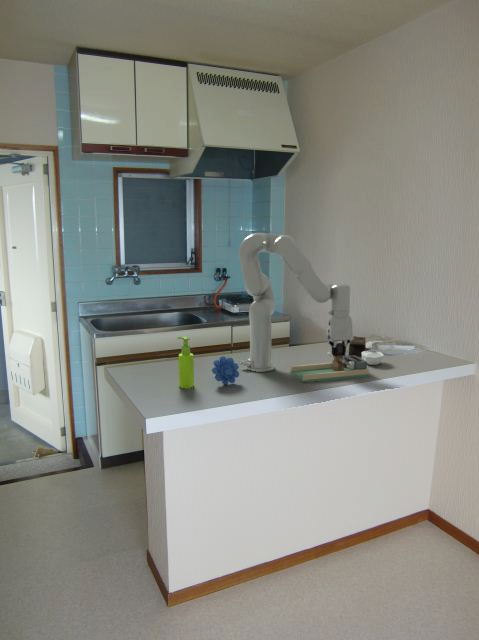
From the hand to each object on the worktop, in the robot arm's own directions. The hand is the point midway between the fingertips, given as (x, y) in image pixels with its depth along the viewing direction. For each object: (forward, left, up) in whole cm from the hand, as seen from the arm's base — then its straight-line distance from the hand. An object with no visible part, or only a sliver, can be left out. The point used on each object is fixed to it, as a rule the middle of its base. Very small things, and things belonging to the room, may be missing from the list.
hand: (338, 355), depth 219 cm
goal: (+8, 0, -7) cm, 11 cm away
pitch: (-4, 0, -9) cm, 10 cm away
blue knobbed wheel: (-50, -1, -9) cm, 51 cm away
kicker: (0, 0, -7) cm, 7 cm away
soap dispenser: (-66, +3, -9) cm, 67 cm away
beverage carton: (+28, +32, -9) cm, 44 cm away
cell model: (+23, +10, -9) cm, 26 cm away
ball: (+7, 0, -5) cm, 8 cm away
